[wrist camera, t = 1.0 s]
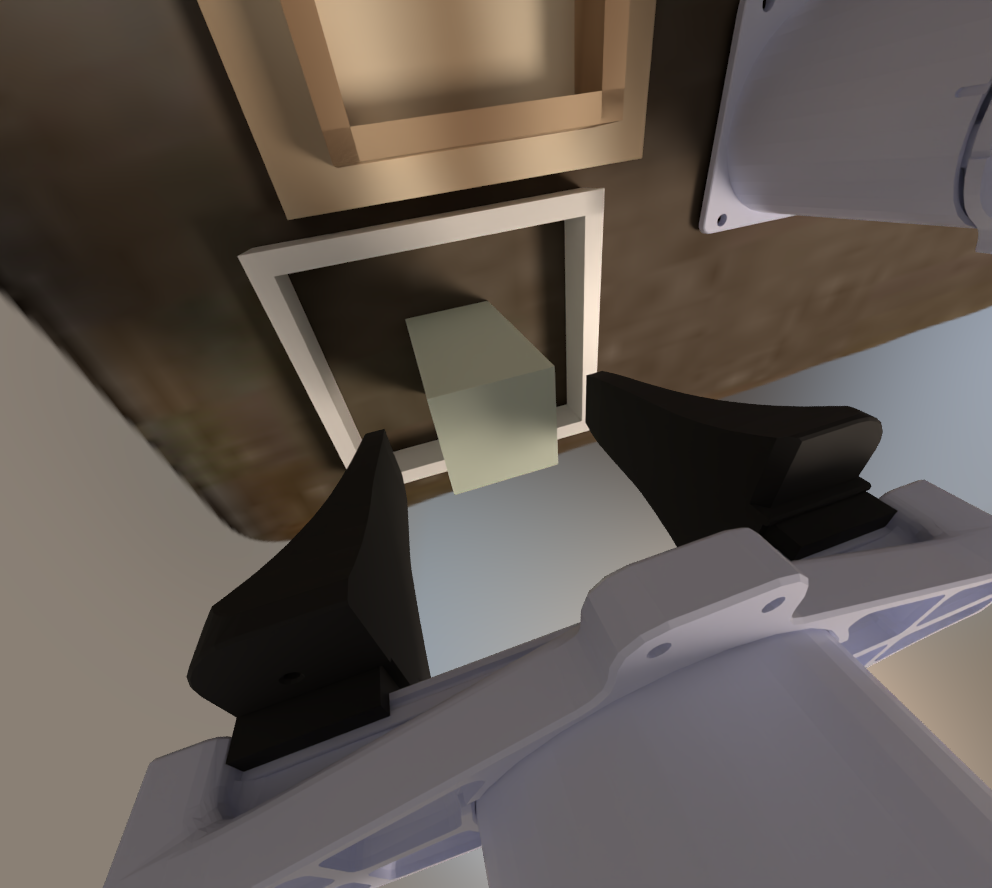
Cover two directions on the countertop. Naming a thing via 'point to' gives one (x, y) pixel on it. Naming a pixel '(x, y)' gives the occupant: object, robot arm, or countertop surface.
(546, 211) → the rectangular frame
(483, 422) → the block
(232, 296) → the countertop surface
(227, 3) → the wooden divided tray
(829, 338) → the countertop surface
